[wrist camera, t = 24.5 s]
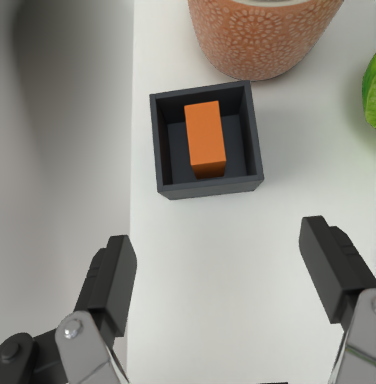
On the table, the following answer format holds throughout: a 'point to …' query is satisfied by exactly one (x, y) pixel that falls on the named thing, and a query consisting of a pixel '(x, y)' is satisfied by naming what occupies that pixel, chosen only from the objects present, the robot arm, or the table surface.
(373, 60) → the lettuce
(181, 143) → the dark grey open box
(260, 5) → the planter
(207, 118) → the block
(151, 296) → the table surface
